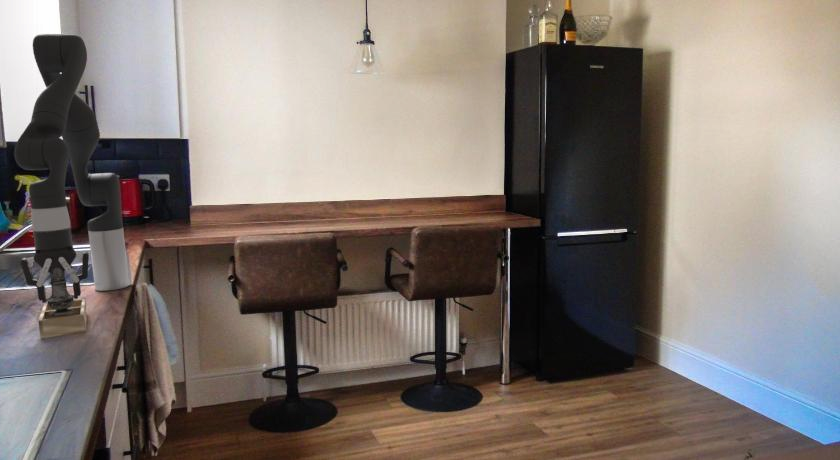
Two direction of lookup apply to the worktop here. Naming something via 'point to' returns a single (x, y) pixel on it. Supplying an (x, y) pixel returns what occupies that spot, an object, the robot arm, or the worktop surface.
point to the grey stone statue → (59, 294)
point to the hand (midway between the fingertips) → (60, 299)
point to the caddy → (63, 320)
